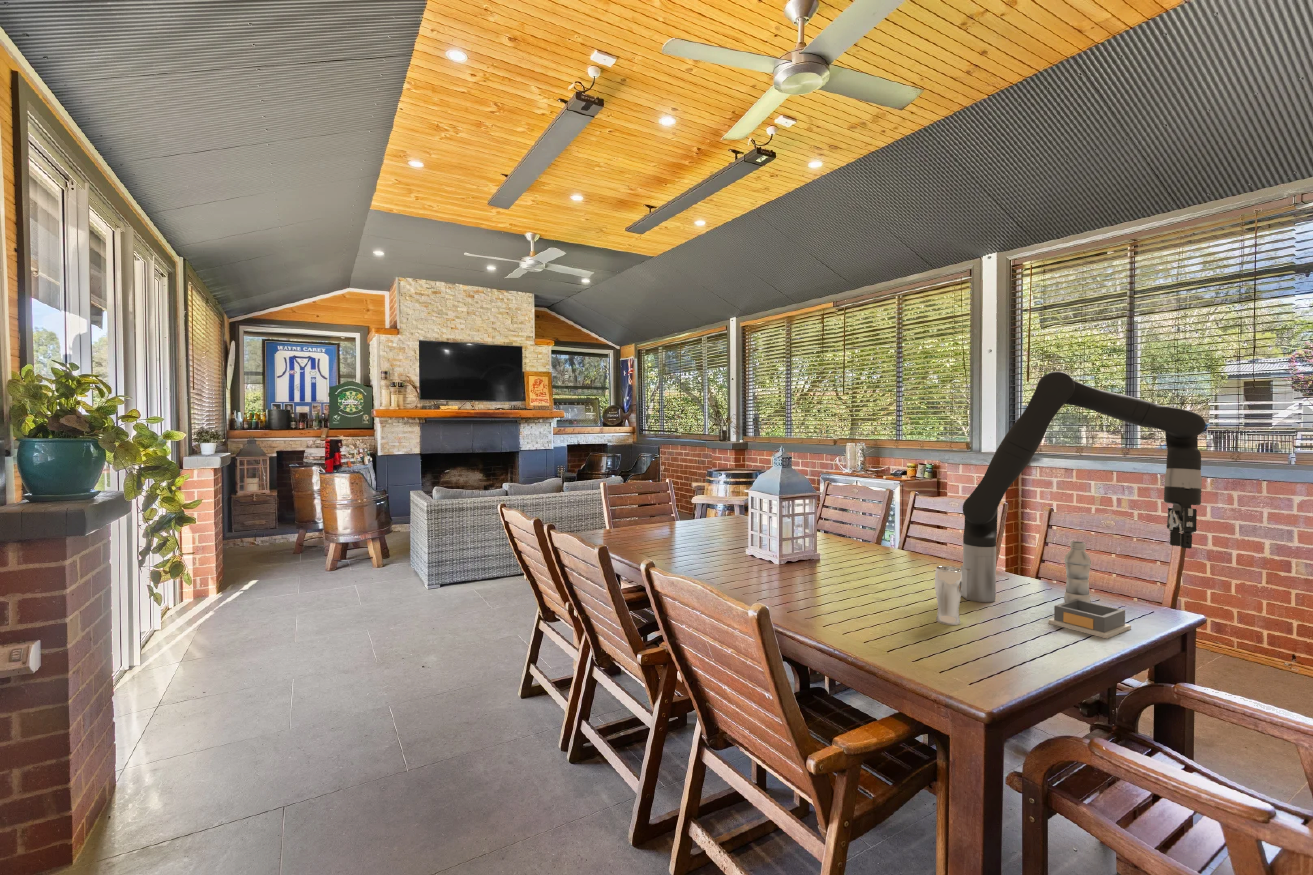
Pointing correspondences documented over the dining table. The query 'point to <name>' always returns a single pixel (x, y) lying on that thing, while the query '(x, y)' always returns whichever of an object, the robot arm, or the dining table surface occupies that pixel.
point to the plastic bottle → (1077, 572)
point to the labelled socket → (1090, 618)
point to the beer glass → (948, 594)
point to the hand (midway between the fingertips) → (1180, 546)
